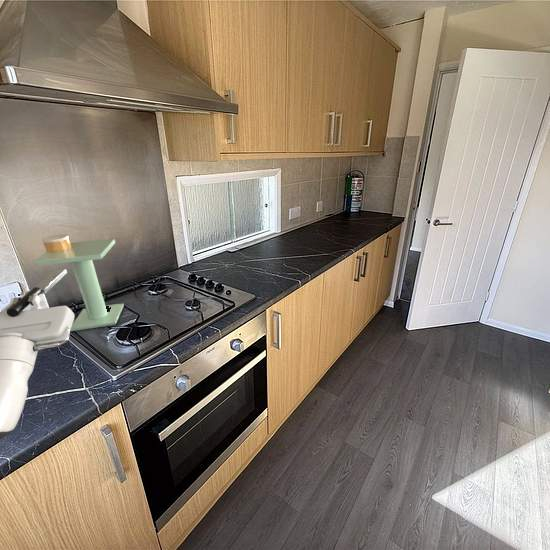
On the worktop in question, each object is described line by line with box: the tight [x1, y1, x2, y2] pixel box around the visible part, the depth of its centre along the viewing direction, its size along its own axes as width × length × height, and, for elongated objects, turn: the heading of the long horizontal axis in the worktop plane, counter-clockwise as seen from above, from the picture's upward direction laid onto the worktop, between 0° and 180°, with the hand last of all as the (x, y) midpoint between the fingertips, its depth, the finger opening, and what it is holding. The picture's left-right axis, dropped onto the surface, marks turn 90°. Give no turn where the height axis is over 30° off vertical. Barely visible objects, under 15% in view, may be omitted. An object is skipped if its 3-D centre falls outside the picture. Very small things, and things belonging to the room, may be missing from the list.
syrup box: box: [19, 290, 50, 311], centre depth 96 cm, size 6×6×14 cm
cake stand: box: [32, 233, 125, 332], centre depth 99 cm, size 18×18×30 cm
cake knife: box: [7, 268, 68, 317], centre depth 72 cm, size 25×3×2 cm, turn 15°
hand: (26, 297), depth 67 cm, fingers closed on cake knife, 2 cm apart
